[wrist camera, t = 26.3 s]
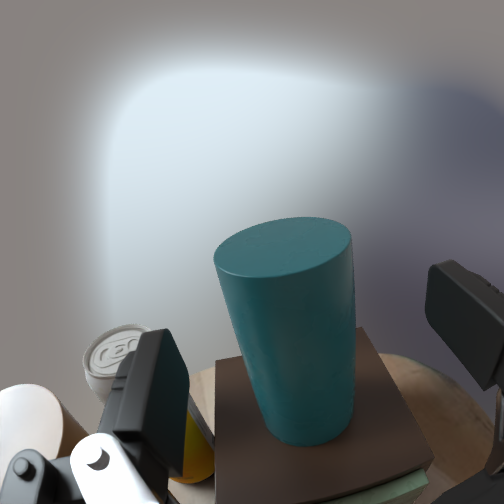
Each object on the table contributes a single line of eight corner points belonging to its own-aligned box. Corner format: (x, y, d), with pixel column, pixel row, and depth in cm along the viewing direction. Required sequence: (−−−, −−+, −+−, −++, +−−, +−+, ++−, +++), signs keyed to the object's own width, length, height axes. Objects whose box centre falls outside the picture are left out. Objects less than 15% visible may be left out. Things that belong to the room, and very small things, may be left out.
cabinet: (406, 499, 15) (435, 457, 12) (248, 538, 15) (215, 513, 12) (360, 388, 28) (362, 326, 24) (239, 417, 28) (215, 360, 24)
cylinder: (268, 455, 15) (209, 291, 10) (259, 386, 21) (215, 232, 16) (365, 431, 15) (375, 253, 10) (339, 368, 21) (327, 208, 16)
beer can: (158, 446, 25) (81, 336, 19) (212, 428, 27) (154, 310, 21) (171, 494, 20) (74, 391, 14) (233, 473, 22) (166, 361, 16)
